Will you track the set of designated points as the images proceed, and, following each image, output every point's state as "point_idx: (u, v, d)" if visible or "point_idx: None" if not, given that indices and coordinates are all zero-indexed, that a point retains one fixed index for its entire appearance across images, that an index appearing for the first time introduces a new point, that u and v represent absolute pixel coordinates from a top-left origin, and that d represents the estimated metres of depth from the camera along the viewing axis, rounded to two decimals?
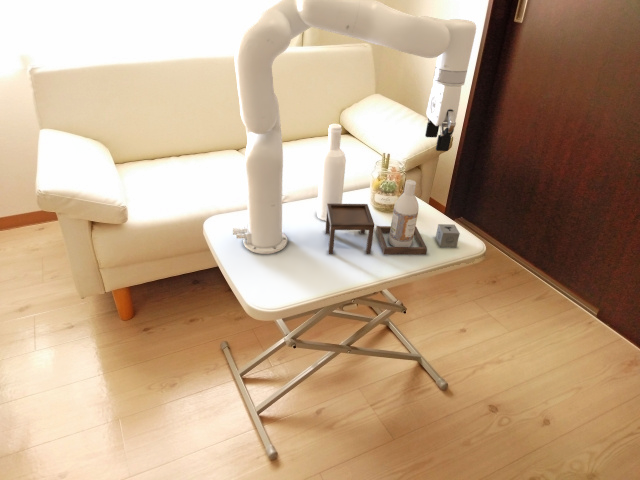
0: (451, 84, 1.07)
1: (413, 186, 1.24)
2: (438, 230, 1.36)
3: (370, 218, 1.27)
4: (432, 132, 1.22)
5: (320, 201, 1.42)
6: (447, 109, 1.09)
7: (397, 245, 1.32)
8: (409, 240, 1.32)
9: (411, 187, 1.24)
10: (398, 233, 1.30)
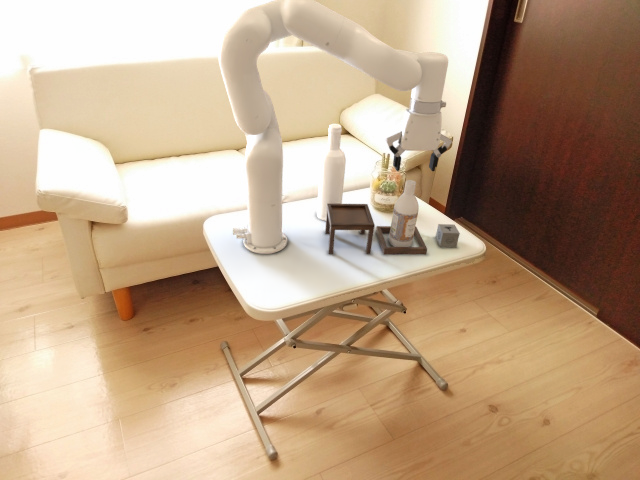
0: (409, 109, 1.14)
1: (413, 186, 1.24)
2: (438, 230, 1.36)
3: (370, 218, 1.27)
4: (431, 164, 1.22)
5: (320, 201, 1.42)
6: (400, 130, 1.17)
7: (397, 245, 1.32)
8: (409, 240, 1.32)
9: (411, 187, 1.24)
10: (398, 233, 1.30)
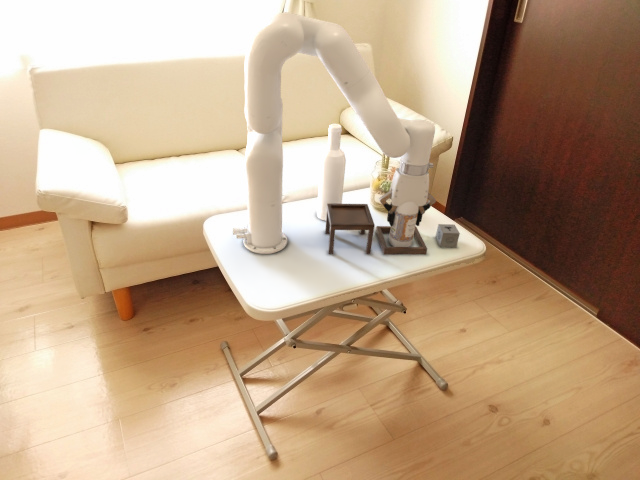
0: (399, 169, 1.23)
1: None
2: (438, 230, 1.36)
3: (370, 218, 1.27)
4: None
5: (320, 201, 1.42)
6: (391, 188, 1.26)
7: (397, 245, 1.32)
8: (409, 240, 1.32)
9: None
10: (398, 233, 1.30)
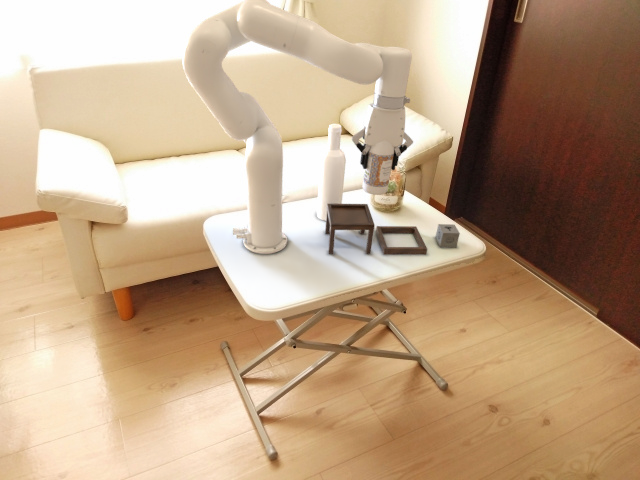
0: (372, 104, 1.13)
1: None
2: (438, 230, 1.36)
3: (370, 218, 1.27)
4: None
5: (320, 201, 1.42)
6: (364, 126, 1.16)
7: (371, 191, 1.22)
8: (384, 186, 1.21)
9: None
10: (372, 177, 1.20)
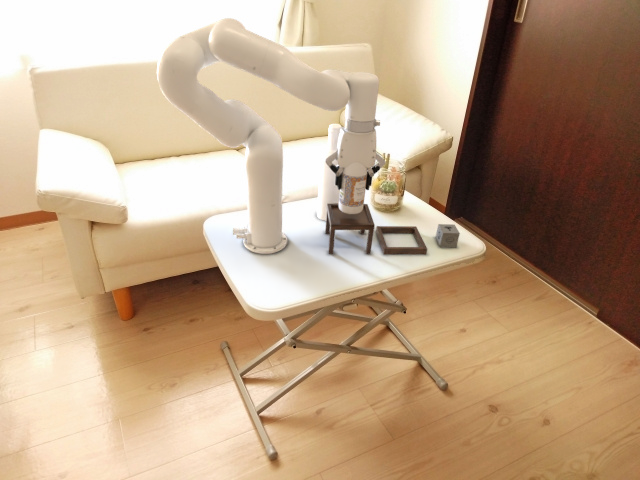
0: (344, 127, 1.15)
1: None
2: (438, 230, 1.36)
3: (370, 218, 1.27)
4: None
5: (320, 201, 1.42)
6: (337, 148, 1.19)
7: (346, 211, 1.25)
8: (359, 205, 1.24)
9: None
10: (347, 197, 1.22)
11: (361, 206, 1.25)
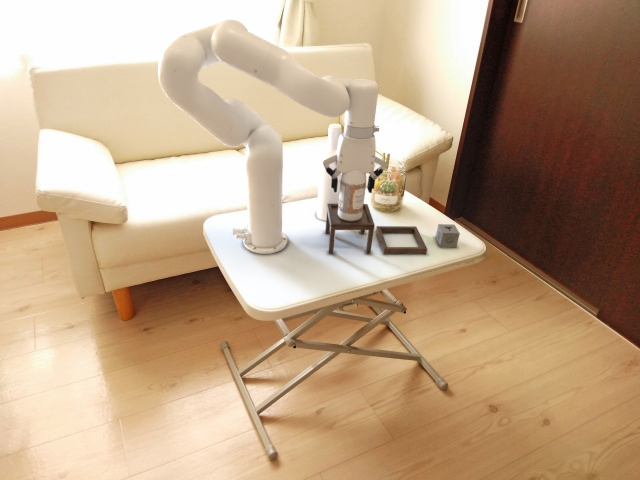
0: (343, 133, 1.16)
1: None
2: (438, 230, 1.36)
3: (370, 218, 1.27)
4: (368, 186, 1.24)
5: (320, 201, 1.42)
6: (336, 153, 1.19)
7: (345, 218, 1.26)
8: (358, 212, 1.25)
9: None
10: (346, 205, 1.24)
11: (360, 213, 1.26)
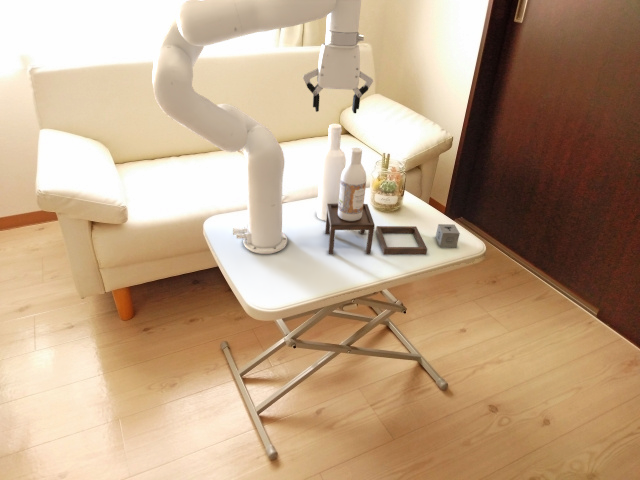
0: (325, 42, 1.08)
1: (359, 154, 1.18)
2: (438, 230, 1.36)
3: (370, 218, 1.27)
4: (353, 106, 1.16)
5: (320, 201, 1.42)
6: (318, 66, 1.11)
7: (345, 218, 1.26)
8: (358, 212, 1.25)
9: (356, 154, 1.18)
10: (346, 205, 1.24)
11: (360, 213, 1.26)
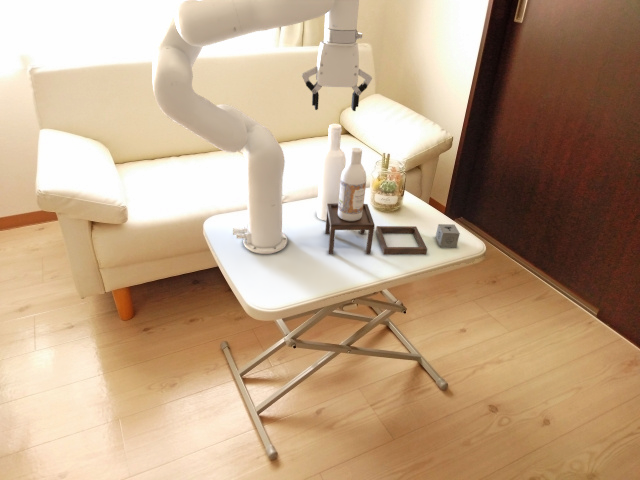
0: None
1: (359, 154, 1.18)
2: (438, 230, 1.36)
3: (370, 218, 1.27)
4: (352, 103, 1.16)
5: (320, 201, 1.42)
6: (317, 64, 1.11)
7: (345, 218, 1.26)
8: (358, 212, 1.25)
9: (356, 154, 1.18)
10: (346, 205, 1.24)
11: (360, 213, 1.26)
